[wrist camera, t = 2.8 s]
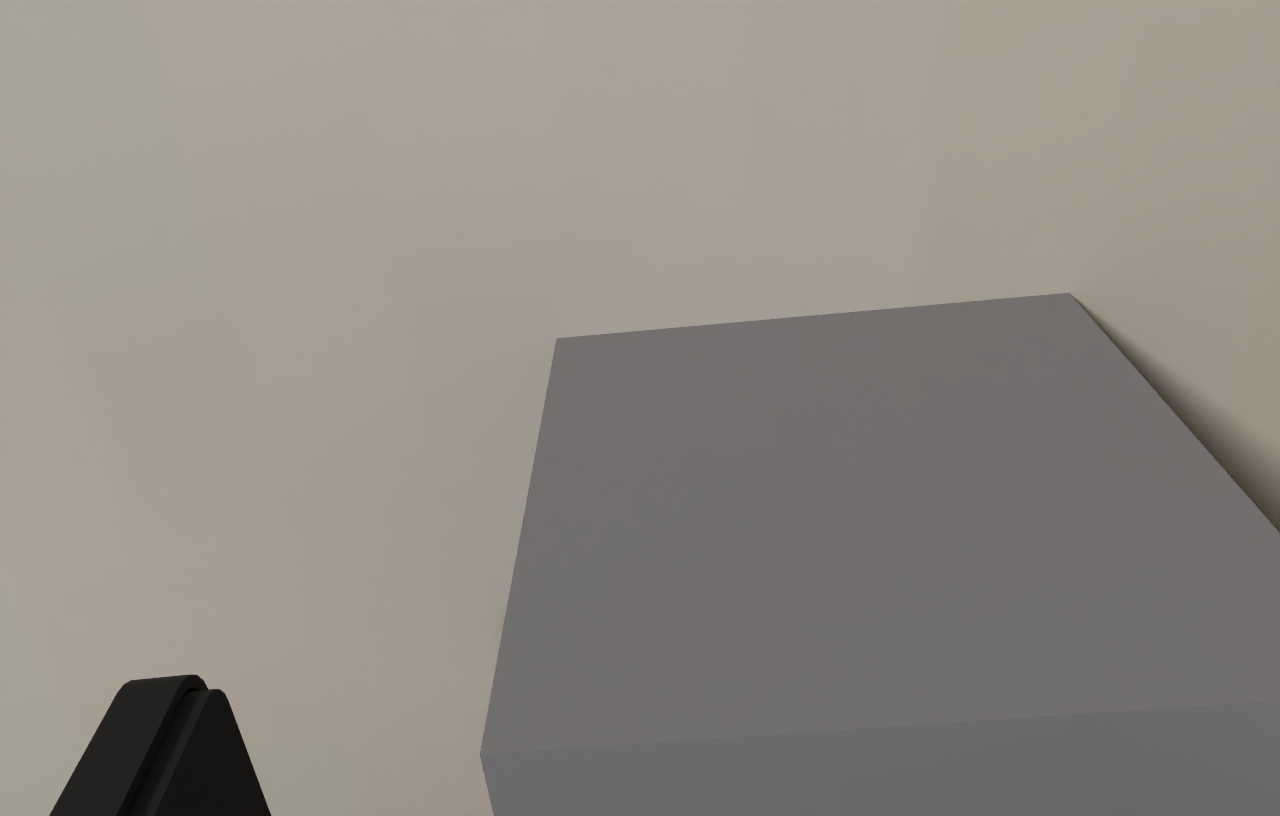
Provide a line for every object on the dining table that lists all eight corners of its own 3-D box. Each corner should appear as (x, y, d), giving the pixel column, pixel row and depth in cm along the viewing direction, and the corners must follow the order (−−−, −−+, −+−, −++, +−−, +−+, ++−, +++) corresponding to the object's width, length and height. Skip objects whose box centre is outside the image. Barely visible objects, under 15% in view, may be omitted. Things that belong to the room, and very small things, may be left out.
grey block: (1067, 290, 12) (1419, 691, 6) (1033, 682, 14) (1261, 1202, 9) (557, 336, 12) (480, 755, 7) (613, 711, 14) (590, 1230, 9)
